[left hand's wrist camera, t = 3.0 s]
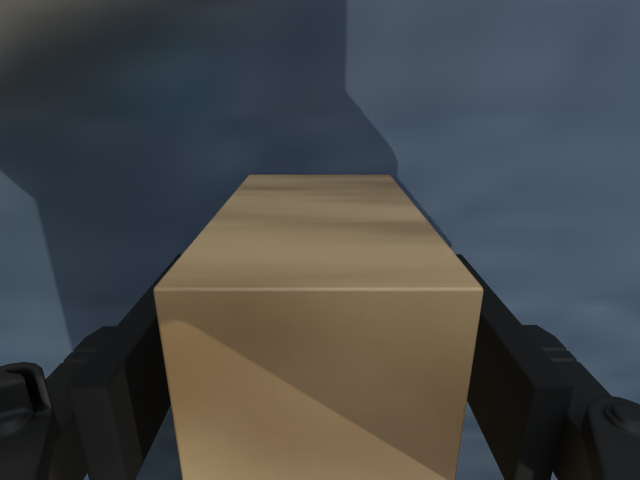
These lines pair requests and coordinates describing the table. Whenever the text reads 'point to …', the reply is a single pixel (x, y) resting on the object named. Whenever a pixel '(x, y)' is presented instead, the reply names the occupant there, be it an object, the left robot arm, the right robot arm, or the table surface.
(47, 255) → the table surface
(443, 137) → the table surface
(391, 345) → the pale wooden bar
